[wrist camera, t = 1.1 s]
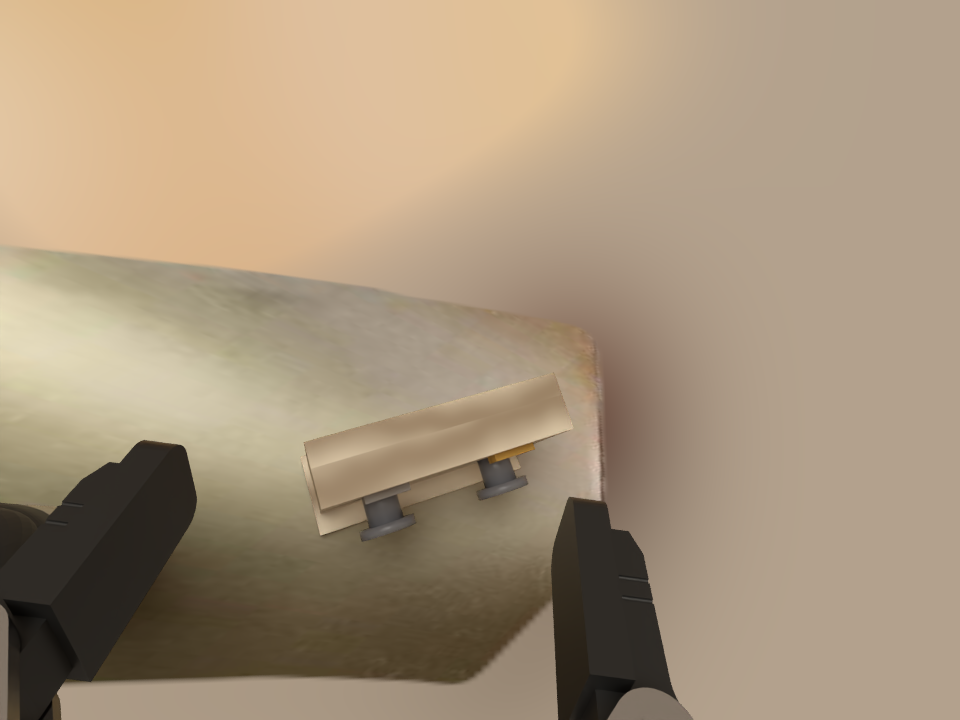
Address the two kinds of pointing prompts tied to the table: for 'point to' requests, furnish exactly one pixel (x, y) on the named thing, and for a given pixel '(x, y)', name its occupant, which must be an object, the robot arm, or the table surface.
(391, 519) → the grey button
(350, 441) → the birch console
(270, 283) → the table surface
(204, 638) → the table surface
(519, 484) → the grey rounded knob
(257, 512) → the table surface
